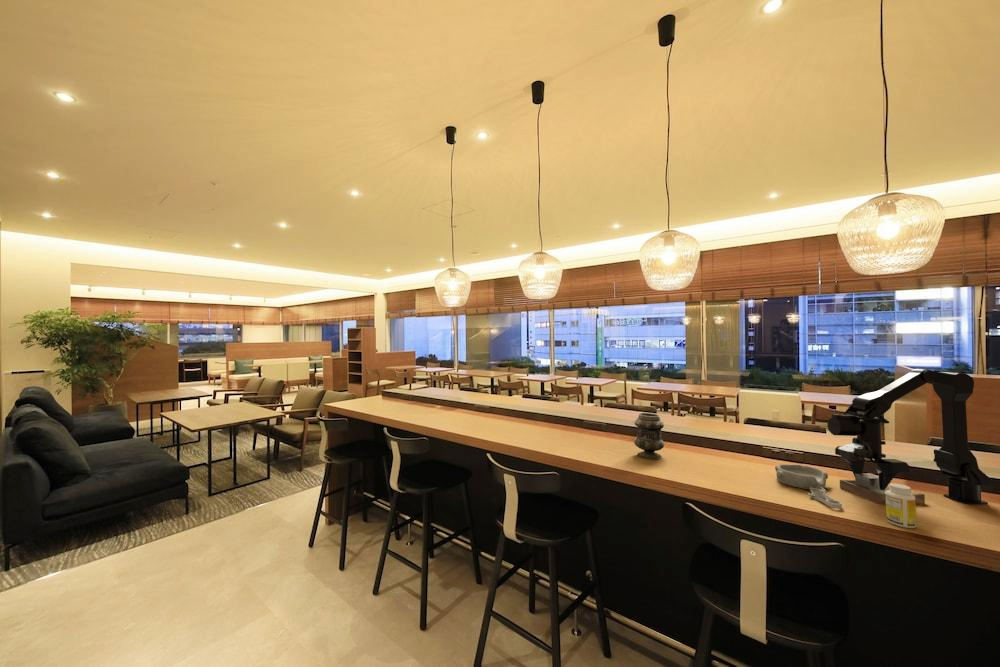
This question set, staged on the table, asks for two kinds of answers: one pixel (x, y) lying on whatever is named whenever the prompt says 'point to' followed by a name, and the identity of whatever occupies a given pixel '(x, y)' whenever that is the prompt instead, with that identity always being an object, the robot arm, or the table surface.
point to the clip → (868, 482)
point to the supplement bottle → (900, 506)
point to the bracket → (824, 497)
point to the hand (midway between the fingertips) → (870, 485)
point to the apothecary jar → (649, 435)
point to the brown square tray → (873, 493)
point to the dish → (801, 476)
